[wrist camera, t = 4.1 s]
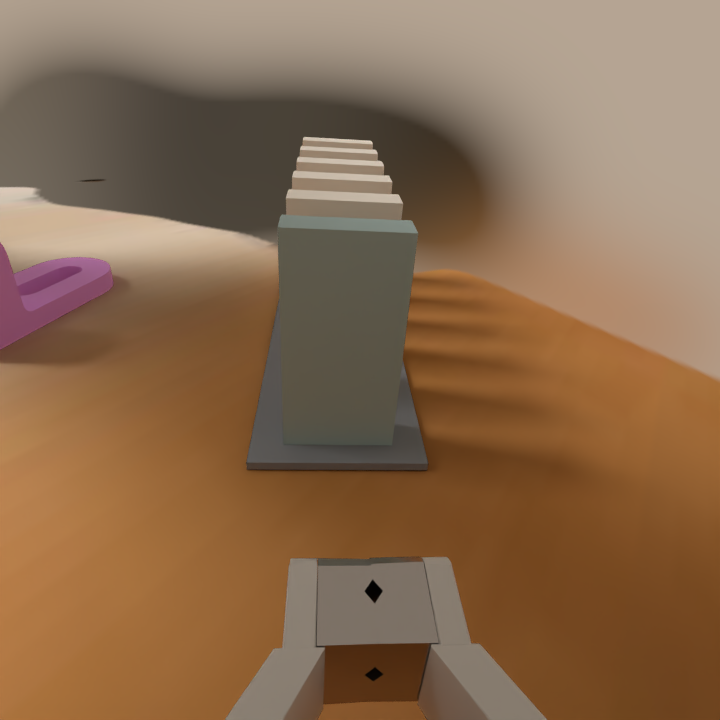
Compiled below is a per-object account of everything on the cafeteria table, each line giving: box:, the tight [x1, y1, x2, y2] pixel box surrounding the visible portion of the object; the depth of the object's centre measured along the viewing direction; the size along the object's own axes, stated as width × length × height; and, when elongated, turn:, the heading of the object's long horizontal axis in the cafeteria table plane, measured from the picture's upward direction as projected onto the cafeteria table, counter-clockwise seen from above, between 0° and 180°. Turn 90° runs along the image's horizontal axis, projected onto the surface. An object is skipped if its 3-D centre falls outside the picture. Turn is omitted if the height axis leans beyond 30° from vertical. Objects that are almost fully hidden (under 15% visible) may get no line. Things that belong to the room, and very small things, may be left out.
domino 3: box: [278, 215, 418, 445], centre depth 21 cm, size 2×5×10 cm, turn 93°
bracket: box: [0, 243, 113, 350], centre depth 32 cm, size 13×6×7 cm, turn 165°
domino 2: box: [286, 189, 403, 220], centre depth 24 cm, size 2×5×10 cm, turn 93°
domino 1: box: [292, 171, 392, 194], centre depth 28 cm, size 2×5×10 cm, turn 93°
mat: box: [246, 297, 428, 470], centre depth 33 cm, size 25×8×1 cm, turn 3°
